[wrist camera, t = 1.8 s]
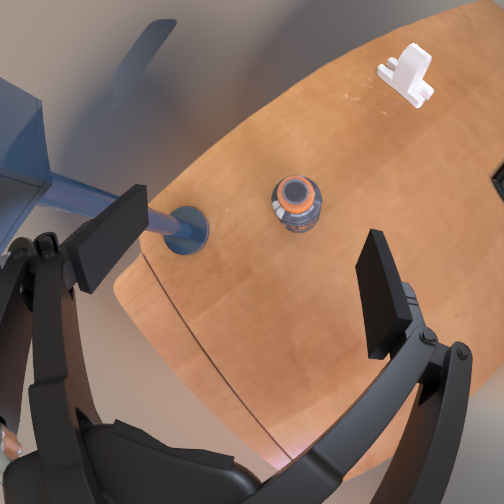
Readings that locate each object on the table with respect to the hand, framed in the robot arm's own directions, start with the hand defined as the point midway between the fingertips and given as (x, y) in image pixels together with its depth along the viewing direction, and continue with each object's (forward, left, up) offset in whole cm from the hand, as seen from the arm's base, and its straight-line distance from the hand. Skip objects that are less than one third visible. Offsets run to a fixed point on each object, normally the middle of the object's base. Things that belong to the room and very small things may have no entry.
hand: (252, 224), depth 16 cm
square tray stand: (-12, +11, -25) cm, 30 cm away
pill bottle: (+4, +4, -25) cm, 26 cm away
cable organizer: (+34, +14, -25) cm, 45 cm away
